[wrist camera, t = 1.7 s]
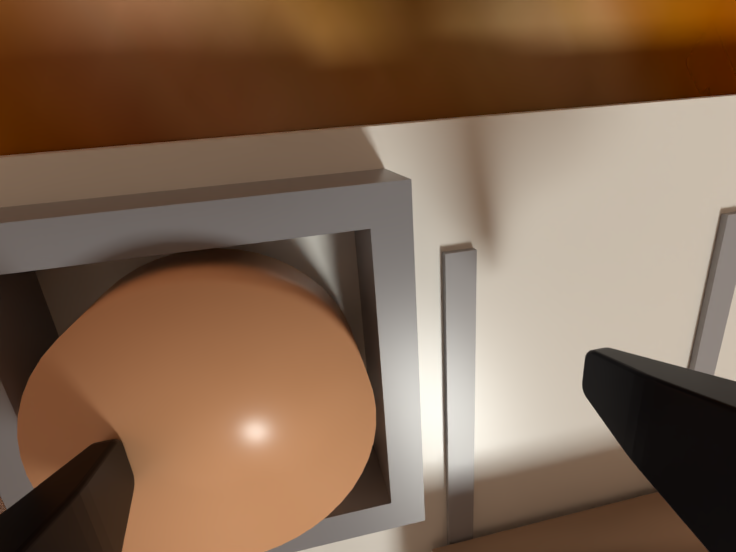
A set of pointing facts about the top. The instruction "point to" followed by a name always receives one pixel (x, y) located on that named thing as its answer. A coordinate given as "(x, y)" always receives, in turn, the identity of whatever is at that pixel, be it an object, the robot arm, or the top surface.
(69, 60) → the top surface
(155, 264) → the push button
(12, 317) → the panel
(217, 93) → the top surface
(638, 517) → the slider bar
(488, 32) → the top surface
